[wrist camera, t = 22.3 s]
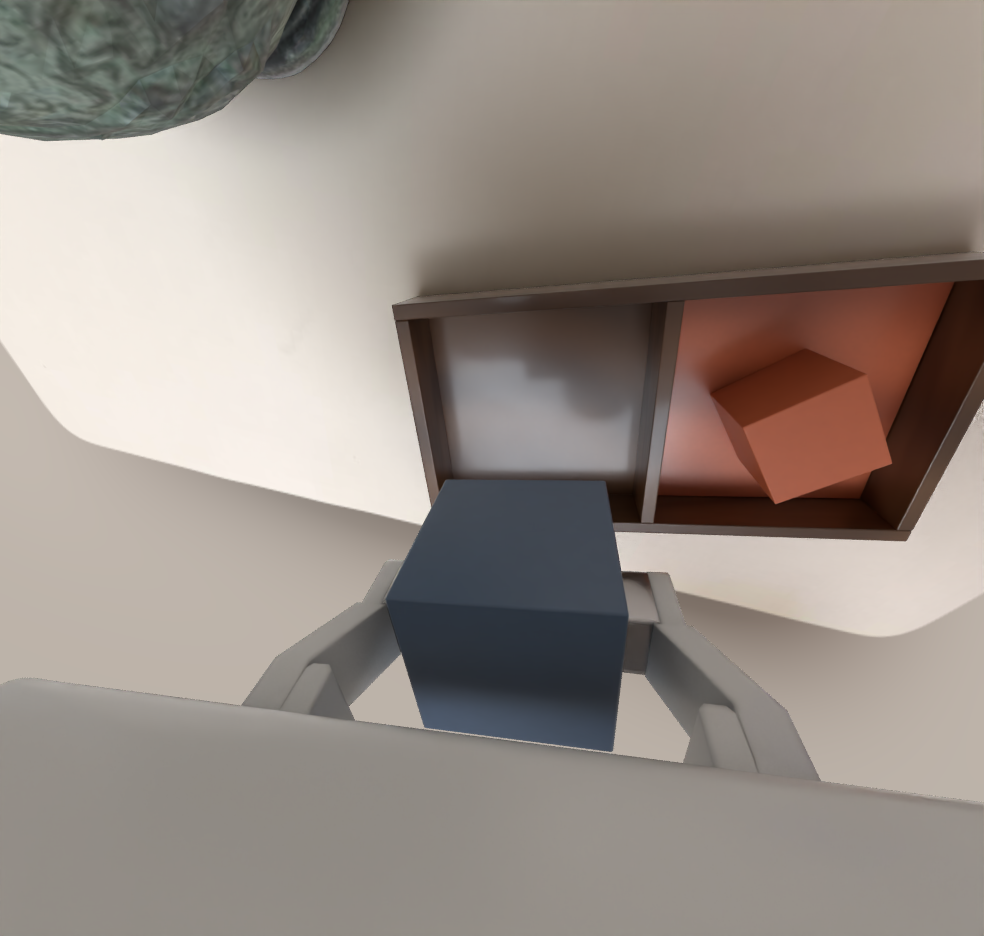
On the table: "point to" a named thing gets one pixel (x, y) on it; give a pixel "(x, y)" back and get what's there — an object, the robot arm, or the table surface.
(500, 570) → the slate block
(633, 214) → the table surface
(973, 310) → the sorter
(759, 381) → the terracotta block
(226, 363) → the table surface
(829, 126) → the table surface
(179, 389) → the table surface
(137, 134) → the bowl
